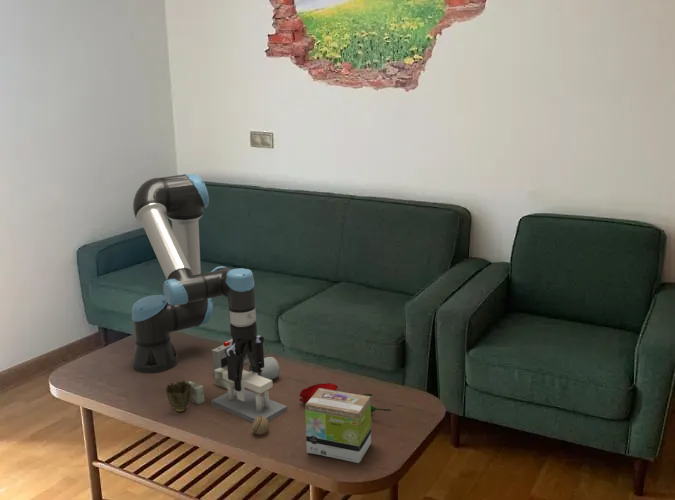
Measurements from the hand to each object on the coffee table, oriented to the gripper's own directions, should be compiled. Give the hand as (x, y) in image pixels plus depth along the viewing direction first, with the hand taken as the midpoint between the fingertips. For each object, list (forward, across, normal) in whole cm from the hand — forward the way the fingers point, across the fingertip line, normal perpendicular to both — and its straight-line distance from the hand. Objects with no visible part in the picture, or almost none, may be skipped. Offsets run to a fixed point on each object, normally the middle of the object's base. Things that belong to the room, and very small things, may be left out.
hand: (248, 395), depth 206 cm
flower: (+4, +15, -25) cm, 29 cm away
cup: (+4, -14, +15) cm, 21 cm away
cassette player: (+4, +16, +25) cm, 30 cm away
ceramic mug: (+4, +16, +11) cm, 20 cm away
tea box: (+4, -2, -36) cm, 36 cm away
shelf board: (-4, 0, 0) cm, 4 cm away
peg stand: (+4, 0, 0) cm, 4 cm away
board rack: (+4, 0, +17) cm, 17 cm away
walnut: (+4, -8, -13) cm, 16 cm away
